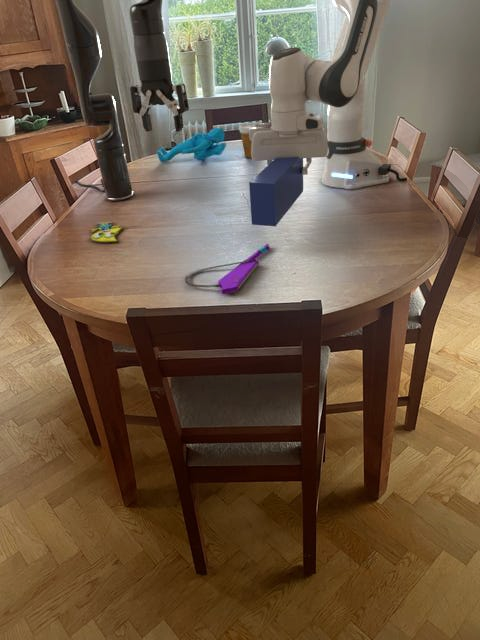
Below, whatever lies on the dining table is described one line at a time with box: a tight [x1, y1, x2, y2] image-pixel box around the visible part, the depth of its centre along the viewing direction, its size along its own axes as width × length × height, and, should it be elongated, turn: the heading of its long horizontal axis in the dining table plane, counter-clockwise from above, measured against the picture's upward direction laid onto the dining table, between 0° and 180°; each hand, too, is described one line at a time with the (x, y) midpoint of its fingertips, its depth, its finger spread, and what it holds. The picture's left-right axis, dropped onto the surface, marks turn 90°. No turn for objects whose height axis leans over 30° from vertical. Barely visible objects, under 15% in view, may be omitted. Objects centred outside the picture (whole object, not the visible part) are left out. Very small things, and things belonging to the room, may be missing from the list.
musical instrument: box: [184, 243, 270, 295], centre depth 114 cm, size 24×2×20 cm
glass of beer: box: [239, 123, 262, 159], centre depth 199 cm, size 10×10×12 cm
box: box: [248, 157, 304, 227], centre depth 123 cm, size 26×6×10 cm, turn 159°
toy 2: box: [156, 127, 227, 163], centre depth 201 cm, size 17×11×30 cm
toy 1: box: [90, 221, 124, 244], centre depth 141 cm, size 10×1×15 cm
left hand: (164, 131), depth 119 cm, fingers open, 8 cm apart
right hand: (289, 175), depth 130 cm, fingers closed on box, 7 cm apart
